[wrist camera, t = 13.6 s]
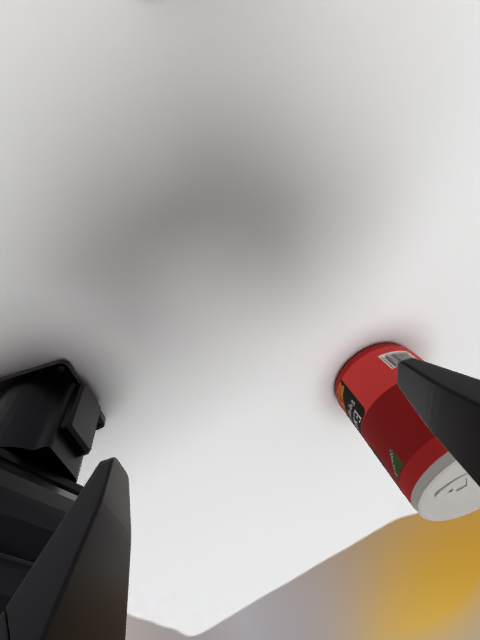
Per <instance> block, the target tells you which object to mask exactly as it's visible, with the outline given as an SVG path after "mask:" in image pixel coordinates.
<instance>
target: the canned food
mask: <svg viewBox="0 0 480 640" xmlns="http://www.w3.org/2000/svg"><path fill="white" fill-rule="evenodd" d="M410 357H411V358H416V359H419V360H422V359H421V358H419V357H418V356H417V355H415V354H414V353H413V352H412V351H410V350H408V349H407V348H405V347H402V346H399V345H395V344H390V343H384V344H378V345H374V346H371V347H369V348H367V349H364V350H363V351H361V352H359V353H358V354H356V355H355V356H354V357H353V358H351V359H350V360H349V361H348V362H347V364H346V365H345V366H344V367H343V369H342V370H341V371H340V373H339V375H338V378H337V381H336V385H335V391H336V395H337V399H338V402H339V404H340V406H341V407H342V409H343V410H344V411H345V413H346V414H347V416H348V417H349V418H350V420H351V421H352V423H353V424H354V425H355V427H356V428H357V430H358V431H359V433H360V434H361V435H362V437H363V438H364V440H365V441H366V442H367V444H368V445H369V447H370V448H371V449H372V451H373V452H374V454H375V455H376V456H377V458H378V459H379V461H380V462H381V463H382V465H383V466H384V468H385V469H386V470H387V472H388V473H389V475H390V476H391V477H392V479H393V480H394V482H395V483H396V484H397V486H398V487H399V489H400V490H401V491H402V493H403V494H404V495H405V496H406V498H407V499H408V501H409V502H410V503H411V505H412V506H413V508H414V509H415V510H416V511H418V513H419V514H420V515H421V517H423V518H425V519H427V520H430V521H443V520H450V519H454V518H458V517H461V516H463V515H466V514H468V513H471V512H473V511H475V510H477V509H479V508H480V487H479V486H478V485H477V483H476V482H475V481H474V480H473V479H472V478H471V477H470V475H469V474H468V473H467V472H466V471H465V470H464V469H463V467H462V466H461V465H460V464H459V463H458V462H457V461H456V459H455V458H454V457H453V456H452V455H451V454H450V453H449V451H448V450H447V449H446V448H445V447H444V446H443V445H442V443H441V442H440V441H439V440H438V439H437V438H436V437H435V435H434V434H433V433H432V432H431V431H430V429H429V428H428V427H427V426H426V424H425V423H424V422H423V420H422V419H421V417H420V416H419V415H418V413H417V412H416V410H415V409H414V408H413V406H412V405H411V403H410V402H409V401H408V399H407V398H406V396H405V395H404V394H403V392H402V391H401V389H400V388H399V386H398V384H397V365H398V362H399V361H401V360H404V359H406V358H410ZM422 361H423V360H422Z"/></svg>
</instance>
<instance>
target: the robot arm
mask: <svg viewBox="0 0 480 640" xmlns="http://www.w3.org/2000/svg"><path fill="white" fill-rule="evenodd" d="M59 366H62V367H64V368H65V369H61V368H59ZM397 384H398V386H399V388H400V389H401V391H402V392H403V394H404V395H405V396H406V398H407V399H408V401H409V402H410V403H411V405H412V406H413V408H414V409H415V410H416V412H417V413H418V415H419V416H420V417H421V419H422V420H423V422H424V423H425V424H426V426H427V427H428V428H429V429H430V431H431V432H432V433H433V434H434V435H435V437H436V438H437V439H438V440H439V441H440V442H441V443H442V445H443V446H444V447H445V448H446V449H447V450H448V451H449V453H450V454H451V455H452V456H453V457H454V458H455V459H456V461H457V462H458V463H459V464H460V465H461V466H462V467H463V469H464V470H465V471H466V472H467V473H468V474H469V475H470V477H471V478H472V479H473V480H474V481H475V482H476V483H477V485H478V486H479V487H480V380H479V379H476V378H473V377H470V376H467V375H464V374H461V373H458V372H455V371H452V370H449V369H446V368H443V367H440V366H437V365H434V364H431V363H428V362H425V361H422V360H419V359H416V358H411V357H410V358H406V359H404V360H401V361H399V362H398V365H397ZM100 409H101V408H100V406H99V404H98V403H97V401H96V399H95V398H94V396H93V395H92V393H91V391H90V390H89V388H88V387H87V385H86V384H84V383H82V382H81V380H80V378H79V377H78V375H77V374H76V372H75V371H74V369H73V367H72V366H71V364H70V363H69V362H68V361H66V360H58V361H55V362H52V363H49V364H45V365H42V366H39V367H35V368H32V369H29V370H26V371H22V372H19V373H16V374H12V375H9V376H6V377H3V378H0V640H125V635H126V617H127V601H128V584H129V567H130V550H131V518H130V496H129V479H128V475H127V473H126V471H125V470H124V468H123V467H122V465H121V464H120V462H119V461H118V459H117V458H115V457H112V458H110V459H107V460H104V461H101V462H100V463H99V464H98V466H97V467H96V469H95V471H94V472H93V474H92V475H91V477H90V478H89V480H88V481H87V483H86V484H85V486H84V487H83V486H81V485H79V484H77V483H76V482H77V479H78V475H79V471H80V467H81V464H82V460H83V456H84V455H87V454H89V452H90V450H91V447H92V443H93V439H94V434H95V430H98V429H101V428H103V427H104V425H105V418H104V416H103V415H102V413H101V411H100ZM97 422H100V423H97Z"/></svg>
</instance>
